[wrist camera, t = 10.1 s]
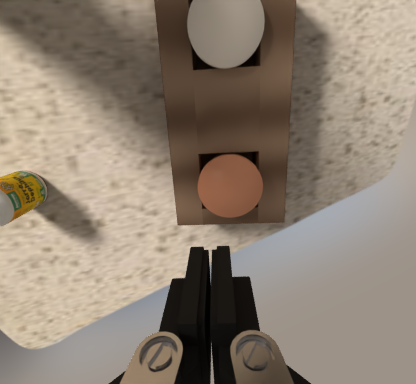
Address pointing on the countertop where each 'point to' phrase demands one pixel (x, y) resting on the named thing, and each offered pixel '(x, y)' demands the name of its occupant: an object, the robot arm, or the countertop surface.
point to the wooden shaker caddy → (227, 110)
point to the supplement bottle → (20, 194)
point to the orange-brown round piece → (230, 185)
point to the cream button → (225, 30)
